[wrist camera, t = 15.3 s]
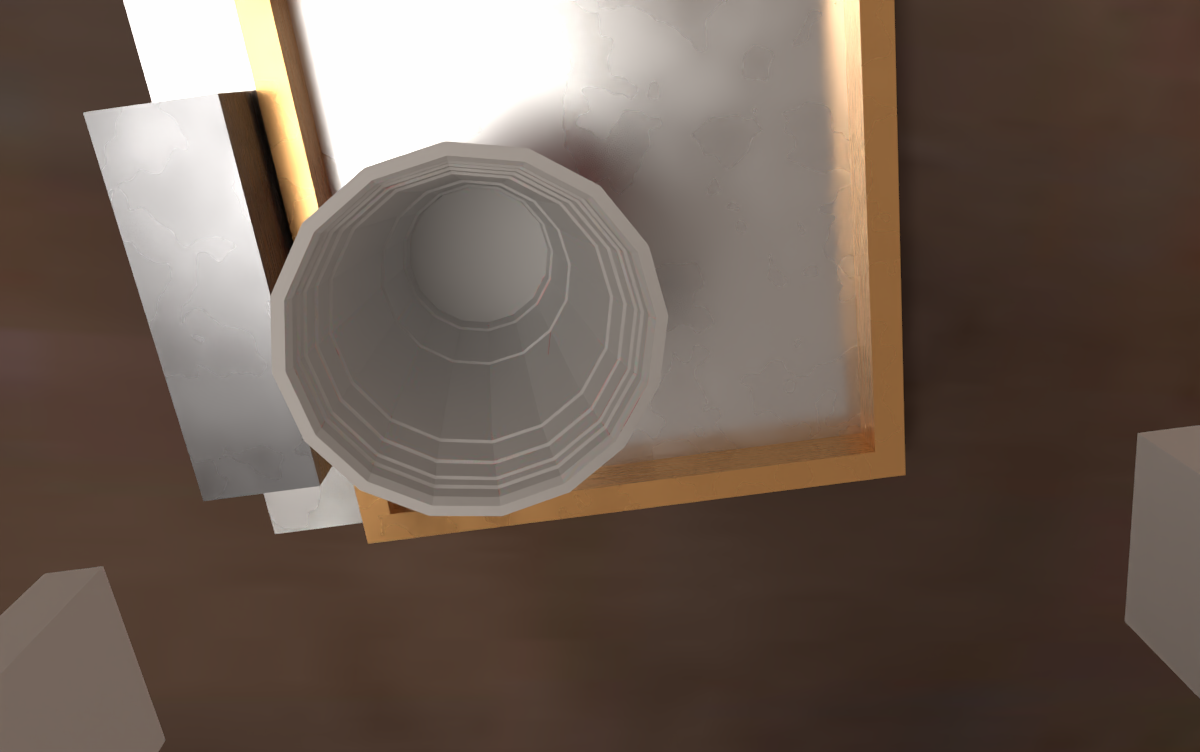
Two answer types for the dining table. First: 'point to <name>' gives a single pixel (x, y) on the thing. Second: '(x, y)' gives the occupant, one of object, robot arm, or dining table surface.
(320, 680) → the dining table surface
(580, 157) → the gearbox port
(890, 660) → the dining table surface
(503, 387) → the plastic cup
